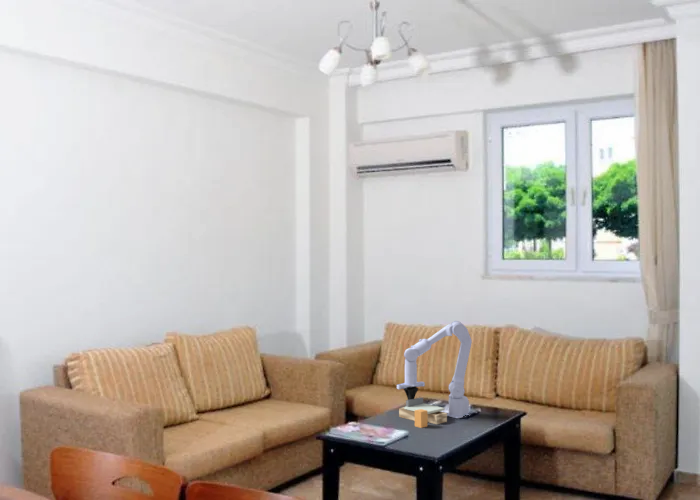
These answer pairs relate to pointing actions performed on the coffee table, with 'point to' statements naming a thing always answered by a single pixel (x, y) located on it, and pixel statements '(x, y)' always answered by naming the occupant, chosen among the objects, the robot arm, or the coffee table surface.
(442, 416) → the wooden tray
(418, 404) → the lid
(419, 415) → the orange rectangular block
